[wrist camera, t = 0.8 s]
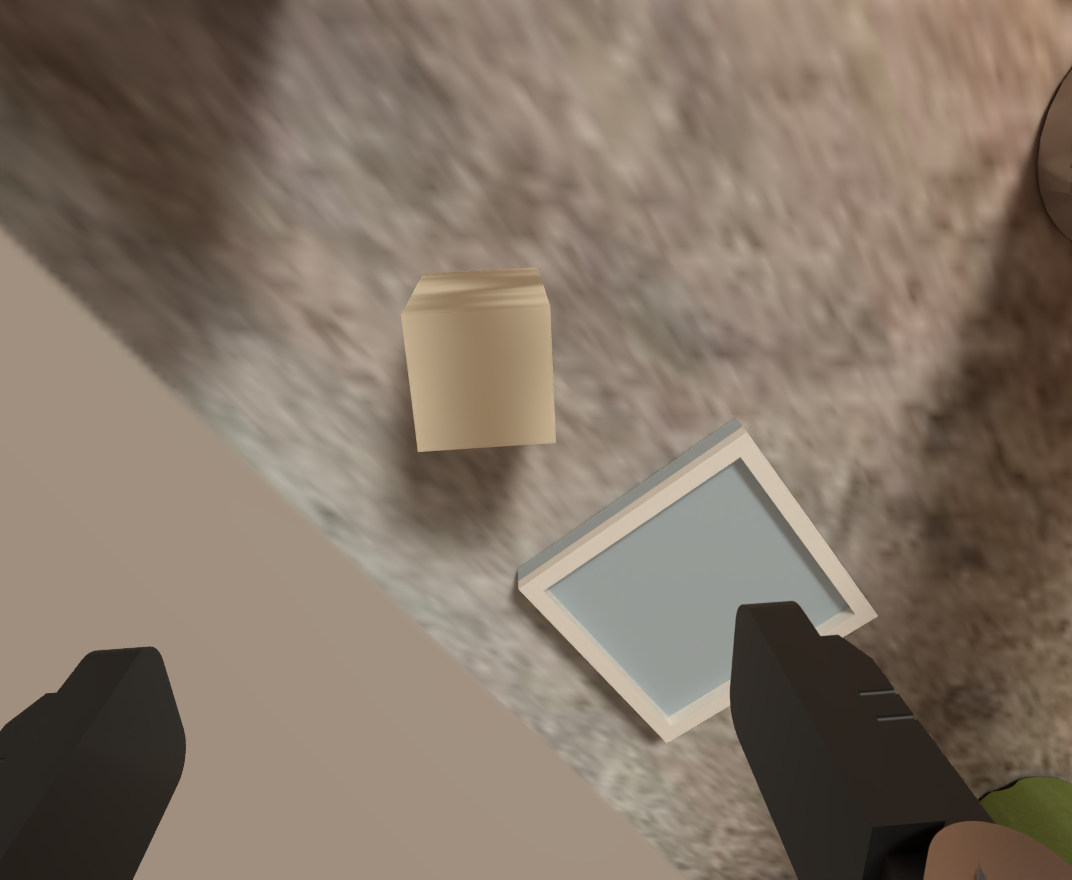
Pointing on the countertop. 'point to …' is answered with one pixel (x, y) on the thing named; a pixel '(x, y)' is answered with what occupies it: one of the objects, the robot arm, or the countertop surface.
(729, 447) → the square picture frame
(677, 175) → the countertop surface
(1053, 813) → the plant pot
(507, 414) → the birch block
